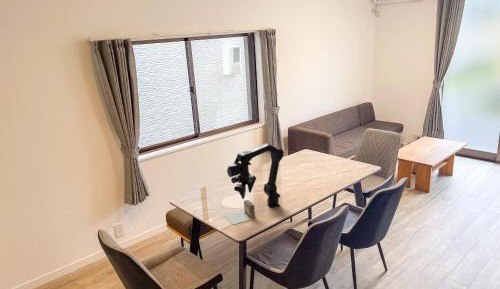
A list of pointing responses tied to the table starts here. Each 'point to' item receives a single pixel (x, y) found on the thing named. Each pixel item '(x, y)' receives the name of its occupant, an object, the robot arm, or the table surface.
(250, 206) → the grey brown stone slab
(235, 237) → the table surface
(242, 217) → the mat
